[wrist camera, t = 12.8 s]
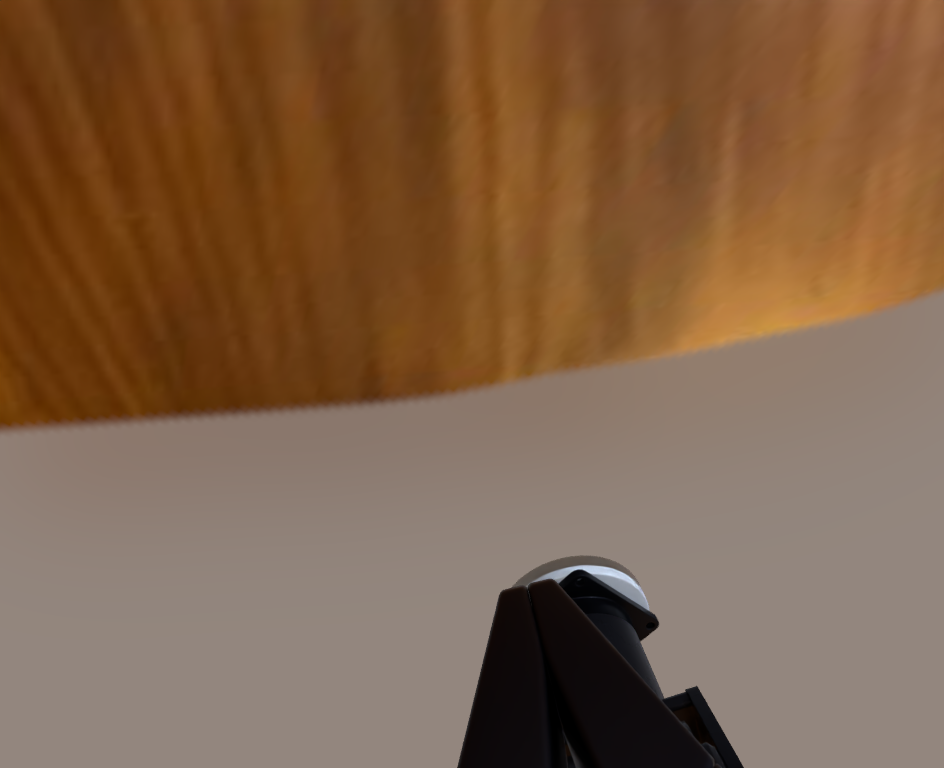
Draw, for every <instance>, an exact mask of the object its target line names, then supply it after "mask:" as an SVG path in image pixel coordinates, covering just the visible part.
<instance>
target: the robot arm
mask: <svg viewBox="0 0 944 768" xmlns="http://www.w3.org/2000/svg"><path fill="white" fill-rule="evenodd" d="M578 579H580V580H578ZM528 591H529V593H528ZM529 596H530V597H529ZM530 600H531V601H530ZM531 604H532V605H531ZM658 627H659V621H658V619H657V617H656V616H655V614H653V613H652V612H650V611H649V610H647V609H645V608H644V607H642V606H641V605H639V604H637V603H636V602H634V601H633V600H631V599H630V598H628V597H626V596H625V595H623V594H622V593H620V592H618V591H617V590H615V589H614V588H612V587H611V586H609V585H607V584H606V583H604V582H603V581H601V580H599V579H598V578H596V577H595V576H593V575H592V574H590V573H588V572H587V571H585V570H583V569H577V570H574V571H573V572H571V573H570V574H569V575H568V576H566V577H565V578H564V579H563V580H562V581H561V582H560V583H557V582H556V581H555V580H553V579H546V580H542V581H538V582H534V583H531V584H529V586H528V589H527V587H526V586H517V587H513V588H509V589H505V590H503V591H502V592H501V593H500V595H499V598H498V602H497V606H496V611H495V615H494V619H493V623H492V627H491V631H490V636H489V640H488V644H487V648H486V652H485V656H484V660H483V664H482V669H481V672H480V677H479V681H478V685H477V689H476V693H475V697H474V702H473V706H472V709H471V714H470V718H469V722H468V726H467V731H466V735H465V738H464V742H463V747H462V751H461V755H460V759H459V763H458V767H457V768H744V767H743V766H742V764H741V762H740V760H739V758H738V756H737V755H736V753H735V751H734V750H733V748H732V746H731V744H730V743H729V741H728V739H727V737H726V736H725V734H724V732H723V730H722V729H721V727H720V725H719V723H718V722H717V720H716V718H715V716H714V715H713V713H712V711H711V709H710V708H709V706H708V704H707V702H706V701H705V699H704V697H703V696H702V694H701V692H700V690H699V689H698V687H697V686H696V687H693V688H689V689H686V690H685V691H686V692H684V693H681V694H678V695H674V696H671V697H668V698H665V699H664V696H663V694H662V692H661V689H660V687H659V685H658V682H657V680H656V678H655V675H654V673H653V671H652V668H651V666H650V664H649V661H648V659H647V657H646V654H645V652H644V650H643V647H642V645H641V643H640V642H641V641H642V640H643V639H644V638H646V637H647V636H648V635H650V634H651V633H652V632H653V631H655V630H656V629H657V628H658Z"/></svg>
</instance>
